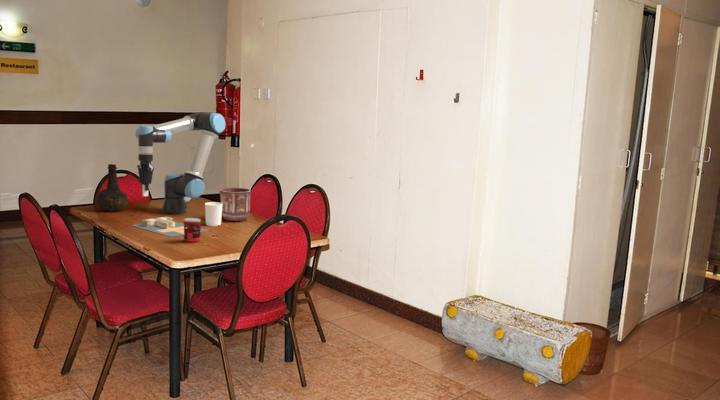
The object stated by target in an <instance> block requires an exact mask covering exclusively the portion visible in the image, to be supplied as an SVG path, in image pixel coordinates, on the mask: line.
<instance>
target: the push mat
mask: <svg viewBox="0 0 720 400" xmlns="http://www.w3.org/2000/svg"><path fill="white" fill-rule="evenodd" d="M173 222H175V228H168V229H166V228H163V227H159V226H150V227H146V226H142V223H137V224H131V225H130V226H131V227H134V226H135V227H134V228H138V229H140V230H141V229H142V230H145V231H147V232H148V231H149V232H151V233H155V234H158V235H161V236H166V237H168V238H174V237H181V236H184V222H183V223H182V222H178V221H175V220H173ZM204 232H205V233H206V232H210V230H208V229H205V228H201V233H204Z"/></svg>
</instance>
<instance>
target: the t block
mask: <svg viewBox="0 0 720 400" xmlns="http://www.w3.org/2000/svg"><path fill="white" fill-rule="evenodd" d="M173 219H174V218H173V217H170V216H161V217H155V218H154V217H153V218H147V219H141V224H142V226H146V227H150V226H159V227H163V228H166V229H168V228H175V222H176V221H175V222H173V221H174V220H173Z"/></svg>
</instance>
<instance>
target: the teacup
mask: <svg viewBox="0 0 720 400" xmlns="http://www.w3.org/2000/svg"><path fill="white" fill-rule="evenodd" d="M184 199H185V203H186V204H187V203H189V202H190V201H191V200H192V198H188V197H184Z"/></svg>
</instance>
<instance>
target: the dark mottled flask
mask: <svg viewBox="0 0 720 400" xmlns="http://www.w3.org/2000/svg"><path fill="white" fill-rule="evenodd" d="M106 169H108V170H107V171H108V172H107V174H108V175H107V184H106V188H105V189H103V190H101V191H99V192H98V194H97V196H96V205H97V206H98V207H99V208H100V210H102V211H104V212H108V213H109V212H111V213H112V212H119V211H122V210H124V209H125V208H126V206H127V205H128V202H129V197H128V194H126V193H125V192H124V191H122V190H121V189H120V188H119V183H118V176H117V169H118V167H117V165H116V164H114V163H113V164H112V163H110V164H108V165H107V168H106Z"/></svg>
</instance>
